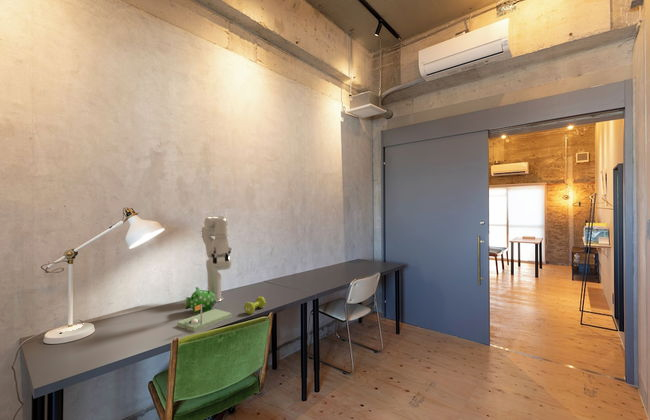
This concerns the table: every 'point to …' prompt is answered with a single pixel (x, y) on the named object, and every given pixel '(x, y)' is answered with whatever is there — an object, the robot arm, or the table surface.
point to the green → (204, 319)
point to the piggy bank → (201, 300)
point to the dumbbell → (254, 305)
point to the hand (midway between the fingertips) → (220, 262)
